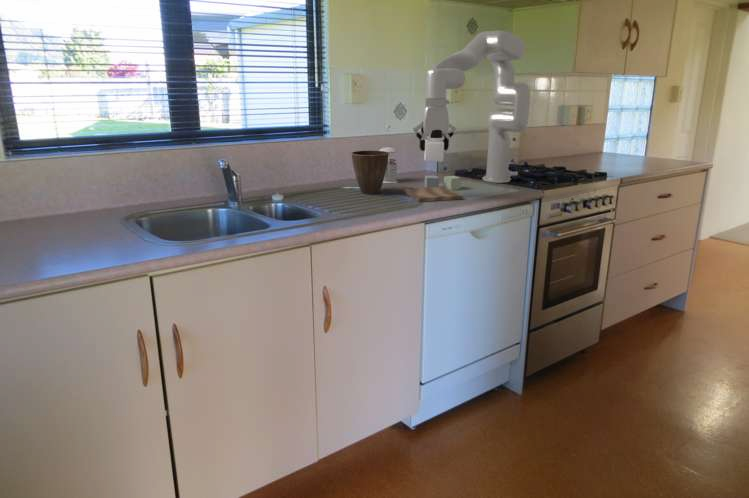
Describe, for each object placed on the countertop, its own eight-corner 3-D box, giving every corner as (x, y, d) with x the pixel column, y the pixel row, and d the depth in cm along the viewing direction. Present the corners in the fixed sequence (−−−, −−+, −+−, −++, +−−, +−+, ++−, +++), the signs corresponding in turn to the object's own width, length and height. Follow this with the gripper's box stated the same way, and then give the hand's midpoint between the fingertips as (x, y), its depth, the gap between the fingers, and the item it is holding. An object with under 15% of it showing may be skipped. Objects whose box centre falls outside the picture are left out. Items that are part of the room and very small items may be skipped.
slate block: (436, 187, 224) (436, 175, 222) (438, 189, 219) (438, 177, 217) (424, 187, 223) (424, 175, 222) (426, 189, 219) (427, 178, 217)
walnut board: (444, 190, 217) (444, 186, 217) (462, 199, 201) (463, 195, 200) (403, 192, 213) (403, 188, 213) (418, 202, 196) (418, 198, 196)
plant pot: (344, 192, 213) (343, 152, 208) (370, 187, 223) (370, 149, 218) (369, 197, 203) (369, 156, 198) (396, 192, 213) (396, 152, 208)
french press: (399, 179, 239) (400, 123, 231) (397, 184, 228) (398, 126, 220) (377, 179, 240) (377, 123, 232) (375, 184, 229) (375, 125, 221)
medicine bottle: (442, 158, 206) (443, 127, 202) (443, 161, 199) (444, 129, 195) (424, 158, 206) (425, 127, 203) (424, 161, 200) (425, 129, 196)
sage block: (452, 187, 224) (453, 175, 222) (460, 189, 219) (460, 177, 218) (443, 188, 221) (443, 176, 220) (450, 190, 217) (451, 178, 216)
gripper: (453, 102, 202) (451, 148, 207) (410, 103, 197) (409, 149, 203) (461, 103, 195) (458, 150, 200) (417, 104, 190) (415, 152, 196)
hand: (433, 150), depth 201 cm, fingers closed on medicine bottle, 8 cm apart
